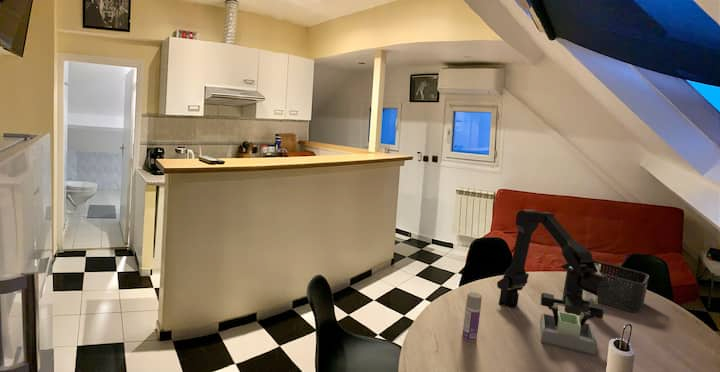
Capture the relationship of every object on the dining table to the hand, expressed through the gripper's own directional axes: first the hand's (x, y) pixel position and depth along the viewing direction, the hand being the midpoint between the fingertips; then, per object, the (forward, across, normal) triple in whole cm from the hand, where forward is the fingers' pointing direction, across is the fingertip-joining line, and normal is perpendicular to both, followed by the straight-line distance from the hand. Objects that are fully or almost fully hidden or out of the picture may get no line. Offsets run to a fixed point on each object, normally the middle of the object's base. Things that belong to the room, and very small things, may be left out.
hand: (567, 328), depth 141 cm
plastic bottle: (+4, +10, +30) cm, 32 cm away
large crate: (+4, 0, 0) cm, 4 cm away
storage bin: (+4, +19, +53) cm, 57 cm away
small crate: (+1, 0, 0) cm, 1 cm away
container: (+4, -30, -18) cm, 35 cm away
